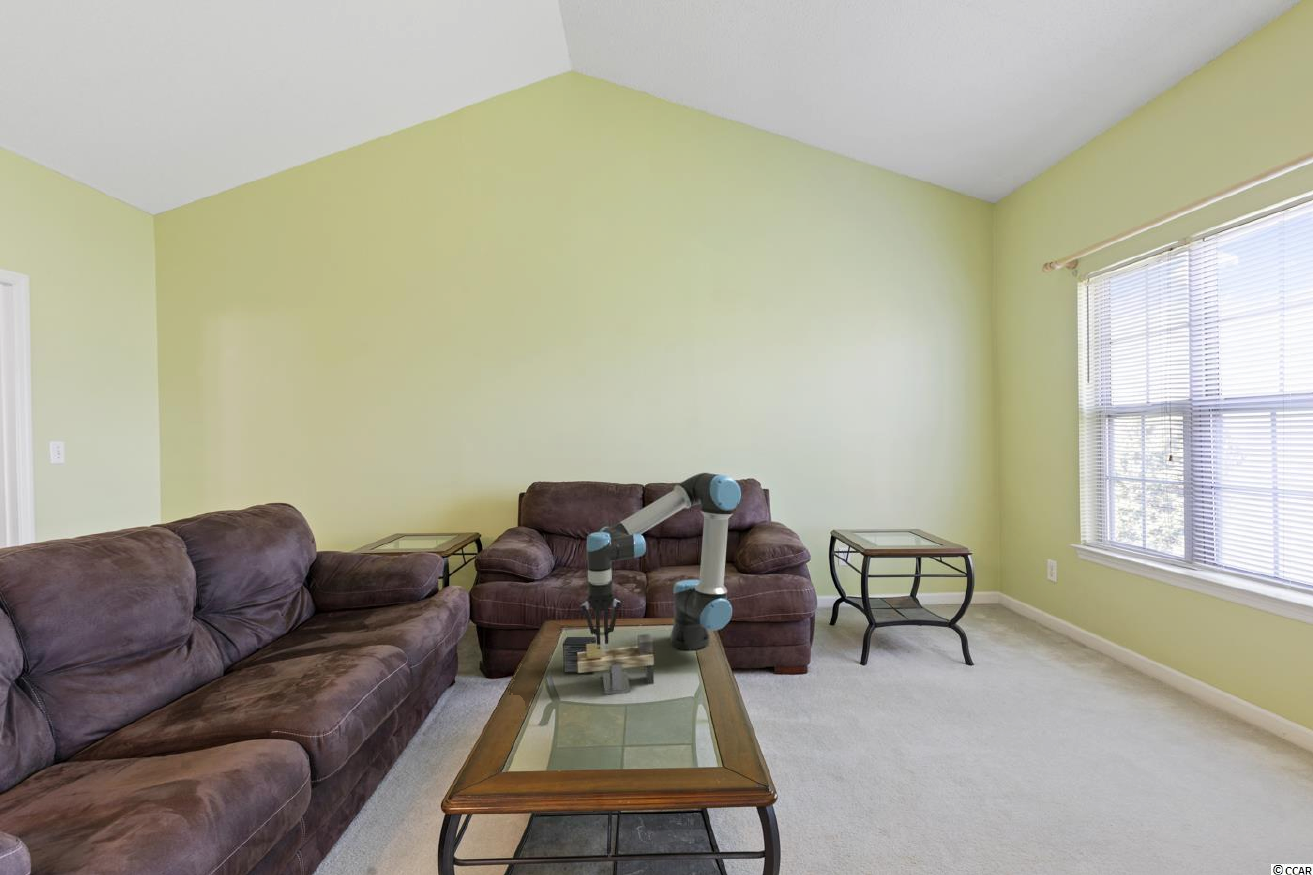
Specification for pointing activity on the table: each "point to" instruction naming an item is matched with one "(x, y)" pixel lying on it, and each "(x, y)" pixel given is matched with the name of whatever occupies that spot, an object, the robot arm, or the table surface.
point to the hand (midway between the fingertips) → (602, 653)
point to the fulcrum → (622, 679)
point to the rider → (593, 652)
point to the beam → (620, 656)
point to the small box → (575, 653)
